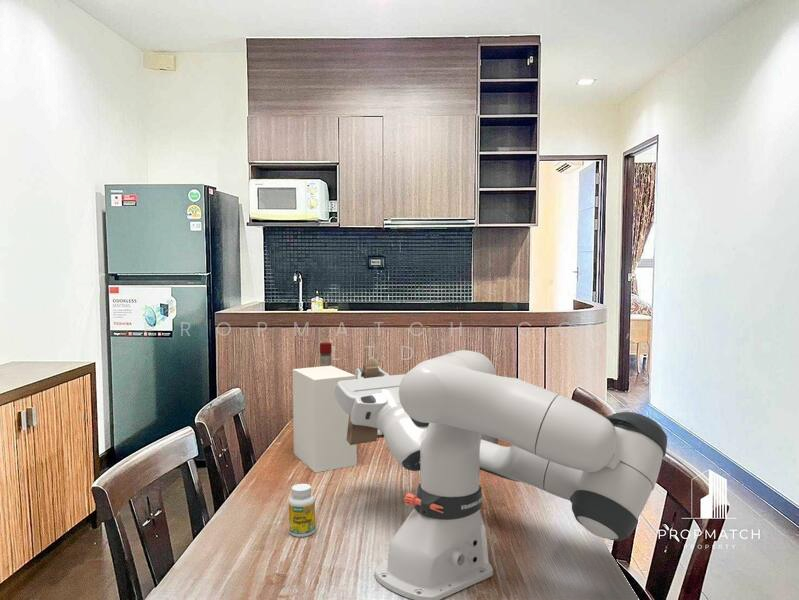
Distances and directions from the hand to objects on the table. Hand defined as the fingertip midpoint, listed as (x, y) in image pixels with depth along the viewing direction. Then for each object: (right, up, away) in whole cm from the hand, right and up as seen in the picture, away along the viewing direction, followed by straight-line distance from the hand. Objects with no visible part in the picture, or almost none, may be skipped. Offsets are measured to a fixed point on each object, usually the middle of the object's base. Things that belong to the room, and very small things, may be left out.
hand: (366, 369), depth 143 cm
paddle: (0, -9, 0) cm, 9 cm away
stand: (-14, -29, +27) cm, 42 cm away
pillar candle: (+31, -28, +31) cm, 53 cm away
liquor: (-16, -27, +50) cm, 59 cm away
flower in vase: (-1, -27, +53) cm, 60 cm away
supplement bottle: (-12, -32, -18) cm, 39 cm away
